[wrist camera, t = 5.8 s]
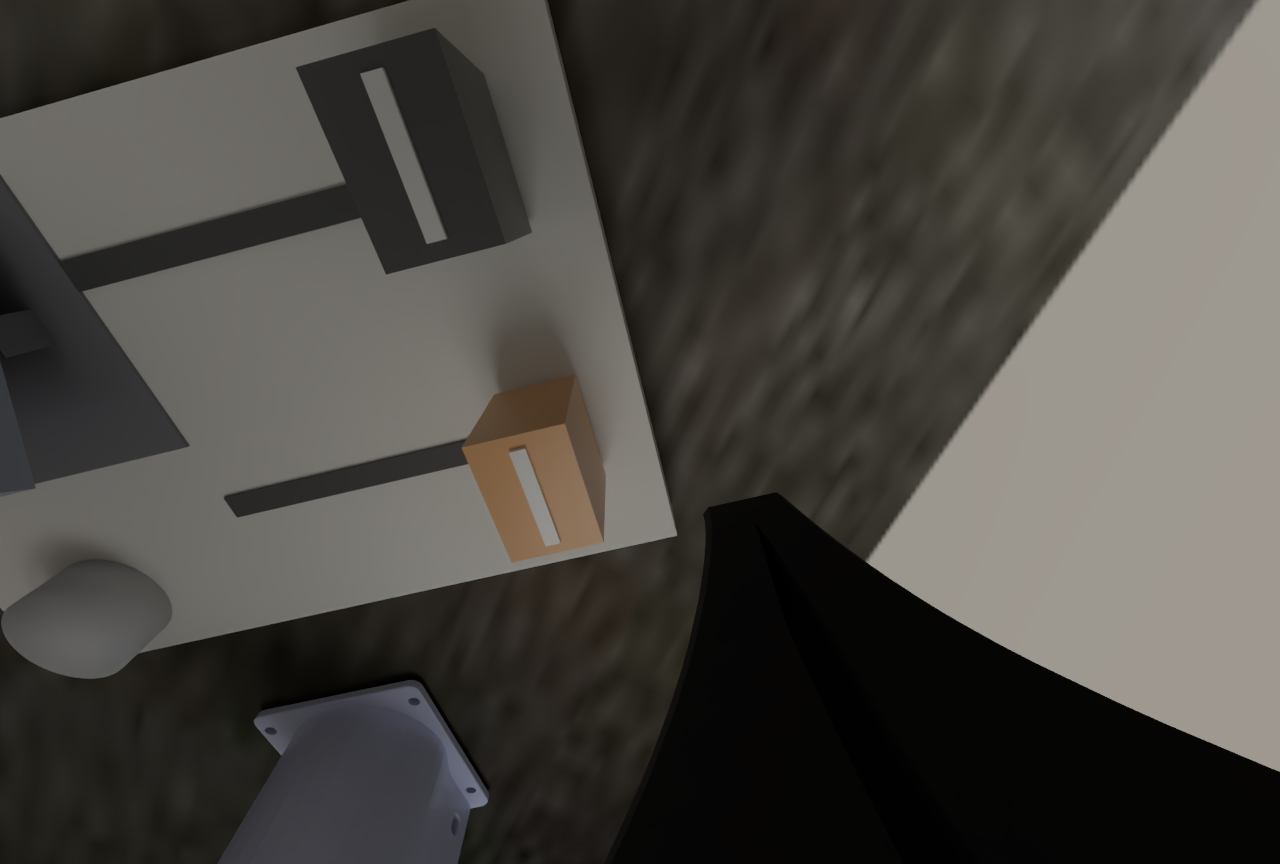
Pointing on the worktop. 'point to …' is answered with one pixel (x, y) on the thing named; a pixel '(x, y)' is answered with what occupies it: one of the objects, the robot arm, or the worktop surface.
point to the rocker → (11, 448)
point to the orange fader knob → (539, 469)
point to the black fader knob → (418, 149)
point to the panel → (282, 350)
